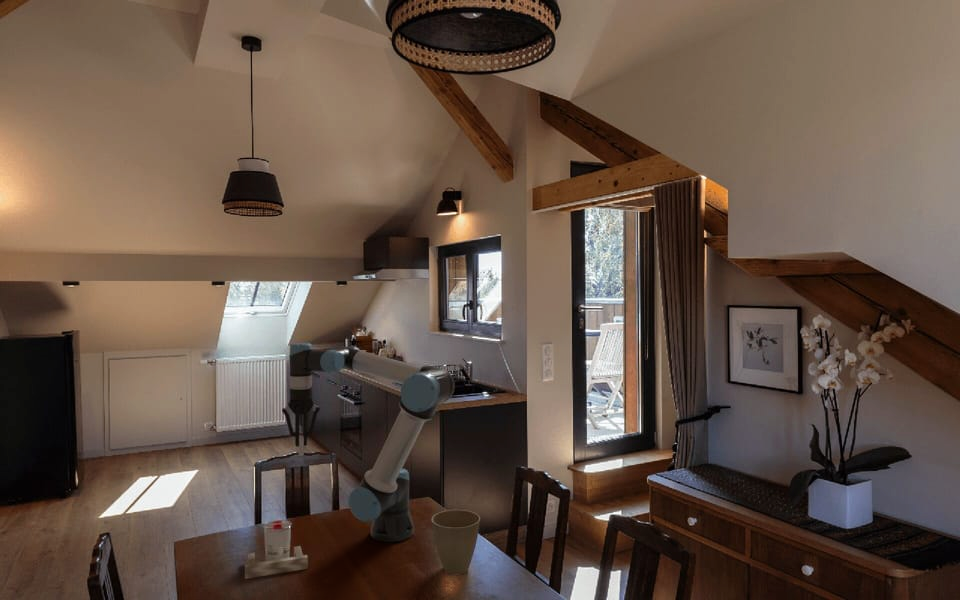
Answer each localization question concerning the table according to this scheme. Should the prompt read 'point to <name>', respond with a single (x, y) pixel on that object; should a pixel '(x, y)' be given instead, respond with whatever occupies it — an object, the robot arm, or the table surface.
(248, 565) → the cream wooden u-shaped piece
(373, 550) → the table surface
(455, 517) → the plant pot
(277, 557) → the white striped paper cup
